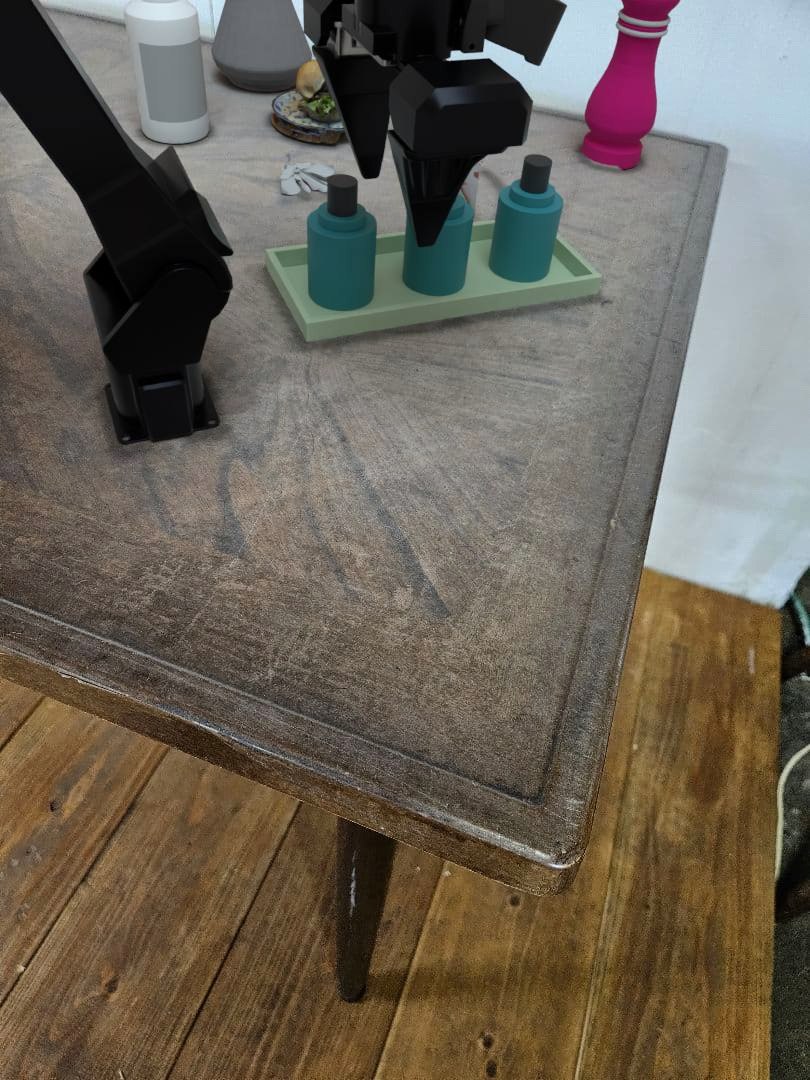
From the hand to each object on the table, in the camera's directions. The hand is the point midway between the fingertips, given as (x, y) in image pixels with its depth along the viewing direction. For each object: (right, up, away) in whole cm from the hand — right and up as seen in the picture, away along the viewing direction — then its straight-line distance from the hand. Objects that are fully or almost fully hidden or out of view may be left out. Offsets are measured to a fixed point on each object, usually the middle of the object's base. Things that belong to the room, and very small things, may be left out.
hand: (396, 209), depth 51 cm
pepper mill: (+23, +21, +38) cm, 48 cm away
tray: (+3, +1, +17) cm, 18 cm away
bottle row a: (+10, +3, +19) cm, 22 cm away
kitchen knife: (+7, +16, +32) cm, 36 cm away
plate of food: (-8, +25, +39) cm, 47 cm away
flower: (-8, +13, +28) cm, 32 cm away
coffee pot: (-21, +33, +46) cm, 60 cm away
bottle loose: (+3, +1, +17) cm, 17 cm away
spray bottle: (-23, +22, +35) cm, 47 cm away
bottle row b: (-5, -1, +15) cm, 15 cm away
